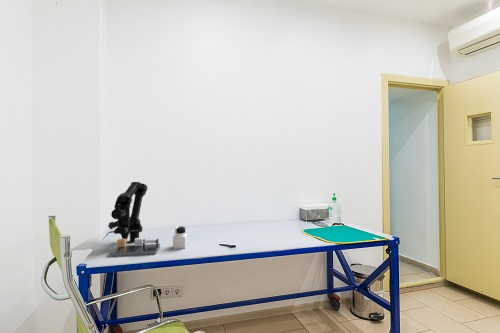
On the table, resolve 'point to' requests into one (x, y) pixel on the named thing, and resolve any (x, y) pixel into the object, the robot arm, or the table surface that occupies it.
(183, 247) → the medicine bottle
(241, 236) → the table surface
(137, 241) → the block
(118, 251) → the panel
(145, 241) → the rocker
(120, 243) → the slider orange
